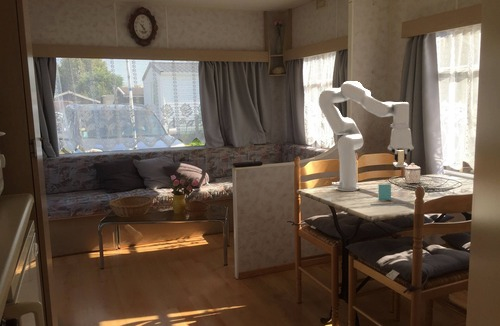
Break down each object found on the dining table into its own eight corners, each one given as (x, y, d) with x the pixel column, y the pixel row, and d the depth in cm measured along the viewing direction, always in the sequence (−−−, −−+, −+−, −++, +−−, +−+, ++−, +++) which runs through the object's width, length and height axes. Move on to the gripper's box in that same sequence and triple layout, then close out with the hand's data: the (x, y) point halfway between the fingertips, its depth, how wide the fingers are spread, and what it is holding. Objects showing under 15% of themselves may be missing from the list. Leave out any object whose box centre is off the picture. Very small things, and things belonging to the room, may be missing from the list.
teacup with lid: (407, 180, 265) (407, 161, 263) (422, 181, 259) (423, 162, 257) (400, 183, 256) (400, 164, 254) (415, 185, 250) (415, 165, 248)
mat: (371, 206, 208) (371, 205, 207) (367, 199, 223) (367, 198, 223) (405, 206, 205) (405, 205, 205) (399, 198, 221) (399, 197, 220)
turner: (396, 167, 221) (396, 152, 219) (392, 163, 230) (393, 149, 229) (408, 166, 220) (408, 151, 218) (404, 163, 229) (404, 149, 228)
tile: (378, 200, 218) (378, 184, 216) (378, 199, 219) (378, 184, 218) (391, 199, 217) (390, 184, 215) (390, 199, 218) (390, 183, 217)
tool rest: (393, 198, 222) (393, 197, 221) (389, 193, 234) (389, 191, 234) (413, 198, 220) (413, 196, 220) (408, 192, 233) (408, 191, 232)
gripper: (385, 127, 219) (385, 162, 222) (419, 126, 217) (418, 162, 220) (383, 126, 227) (383, 160, 230) (415, 125, 224) (415, 160, 227)
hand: (400, 161), depth 225 cm, fingers closed on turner, 3 cm apart
